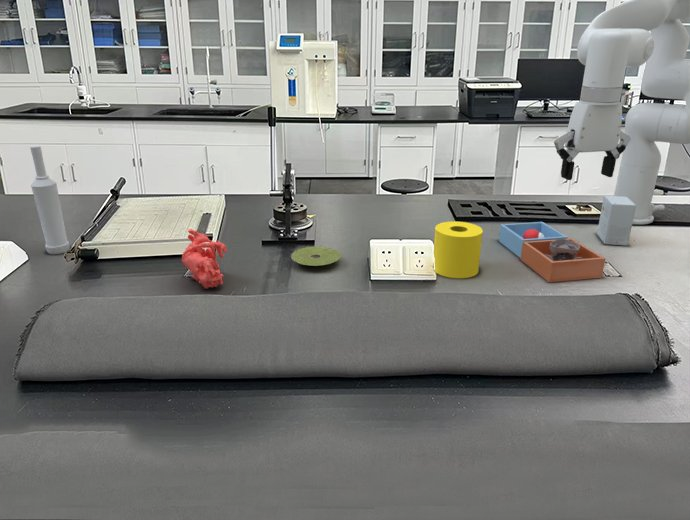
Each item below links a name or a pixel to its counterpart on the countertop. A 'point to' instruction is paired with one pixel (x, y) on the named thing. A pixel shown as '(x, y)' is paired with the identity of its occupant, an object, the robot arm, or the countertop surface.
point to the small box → (616, 220)
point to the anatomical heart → (203, 259)
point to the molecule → (532, 234)
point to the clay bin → (562, 262)
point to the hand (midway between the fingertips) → (586, 177)
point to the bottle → (48, 207)
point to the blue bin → (514, 234)
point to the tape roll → (457, 249)
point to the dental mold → (563, 250)
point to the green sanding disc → (315, 256)
